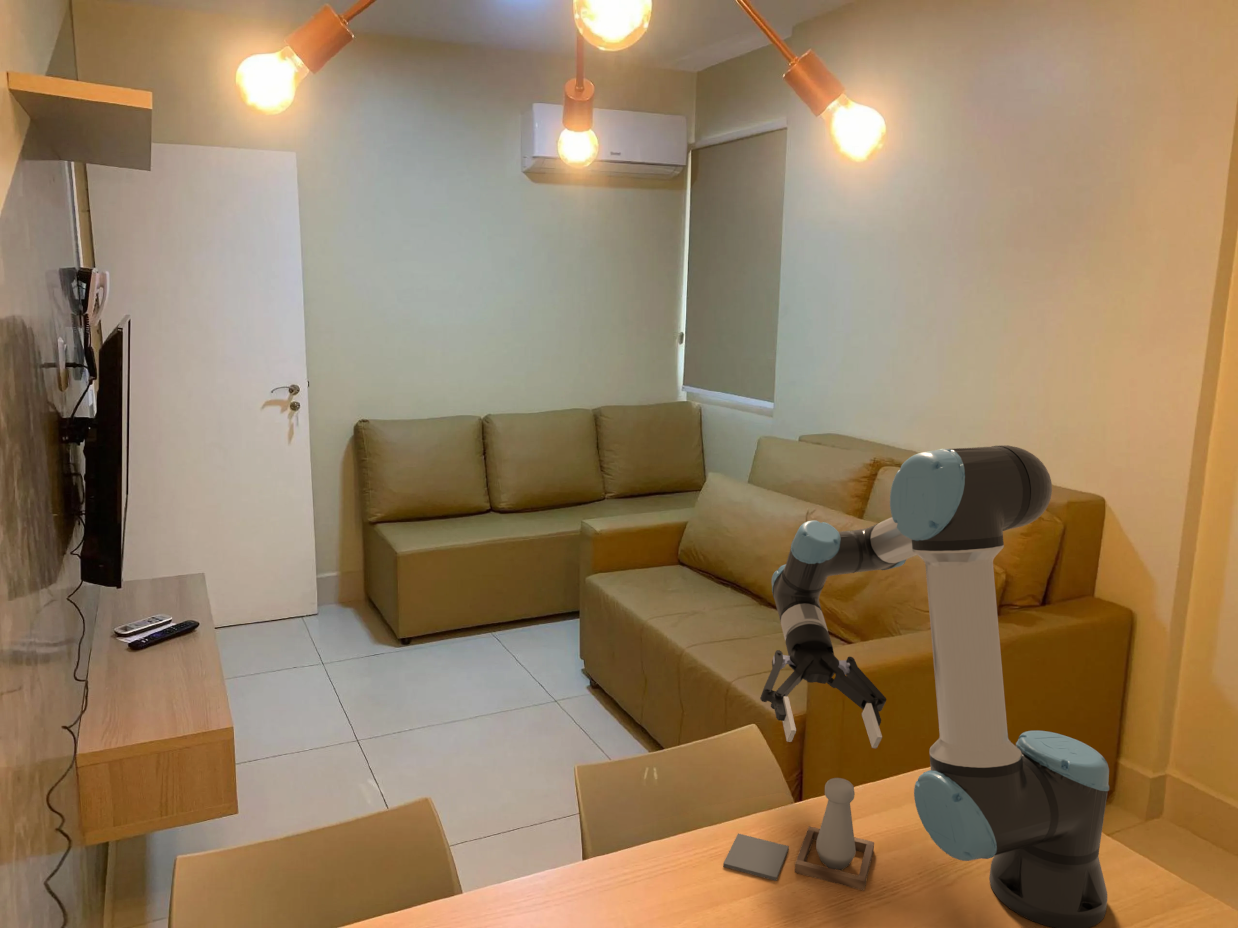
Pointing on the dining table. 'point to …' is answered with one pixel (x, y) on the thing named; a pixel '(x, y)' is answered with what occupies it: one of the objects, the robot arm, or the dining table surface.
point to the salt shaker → (837, 826)
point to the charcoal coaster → (756, 857)
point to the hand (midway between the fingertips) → (834, 739)
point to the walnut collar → (830, 873)
